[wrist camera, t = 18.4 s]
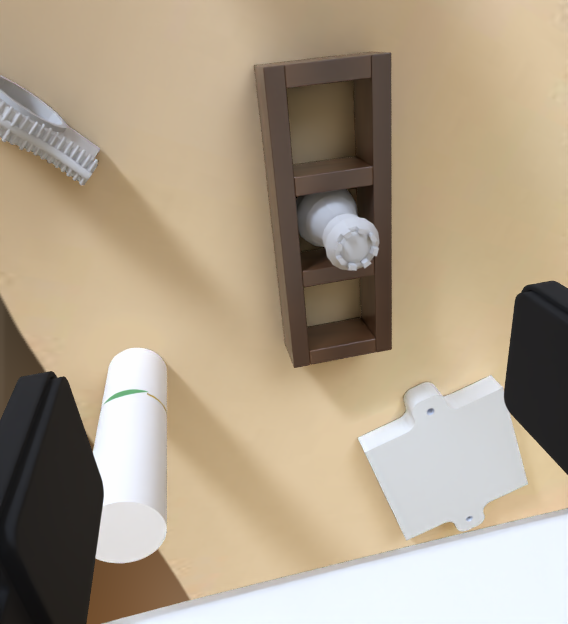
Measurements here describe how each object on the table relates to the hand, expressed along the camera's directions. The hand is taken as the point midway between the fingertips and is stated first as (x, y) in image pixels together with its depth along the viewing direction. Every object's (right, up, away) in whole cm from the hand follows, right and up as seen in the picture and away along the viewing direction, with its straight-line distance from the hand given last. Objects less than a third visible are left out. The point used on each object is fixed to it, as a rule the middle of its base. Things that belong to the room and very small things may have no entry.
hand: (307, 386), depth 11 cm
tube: (-11, -3, +29) cm, 31 cm away
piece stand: (+2, +8, +26) cm, 28 cm away
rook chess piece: (+2, +9, +26) cm, 28 cm away
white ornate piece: (-16, +14, +20) cm, 29 cm away
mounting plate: (+14, -12, +39) cm, 43 cm away
